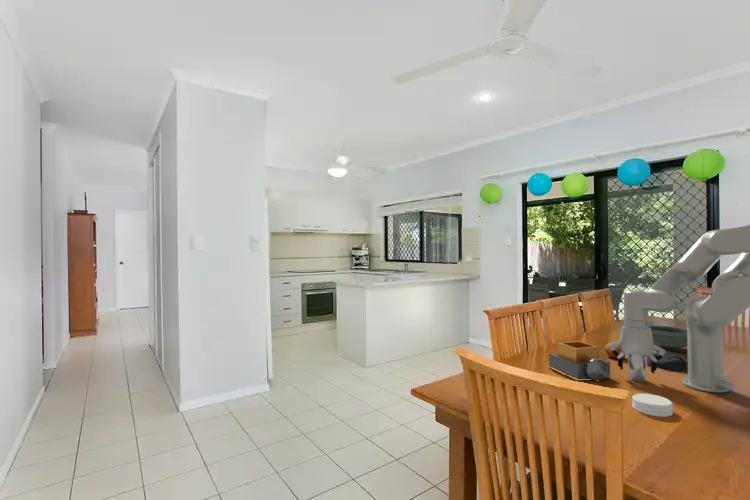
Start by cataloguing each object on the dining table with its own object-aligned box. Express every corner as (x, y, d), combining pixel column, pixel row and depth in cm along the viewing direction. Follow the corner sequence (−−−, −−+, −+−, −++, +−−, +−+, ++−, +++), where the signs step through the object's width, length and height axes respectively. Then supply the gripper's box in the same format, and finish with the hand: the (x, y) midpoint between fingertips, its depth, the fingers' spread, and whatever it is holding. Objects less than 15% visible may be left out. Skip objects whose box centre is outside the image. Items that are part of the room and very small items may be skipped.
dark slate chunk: (688, 360, 167) (688, 349, 167) (695, 374, 149) (695, 362, 149) (645, 355, 176) (645, 345, 176) (646, 368, 157) (646, 356, 157)
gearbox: (614, 379, 143) (614, 349, 143) (581, 383, 140) (581, 352, 140) (578, 365, 161) (578, 339, 161) (549, 368, 158) (548, 341, 158)
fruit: (634, 356, 168) (624, 340, 168) (618, 366, 168) (609, 350, 168) (623, 351, 176) (613, 336, 176) (608, 360, 176) (598, 345, 176)
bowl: (651, 353, 177) (651, 331, 177) (635, 342, 197) (635, 323, 197) (706, 356, 171) (705, 333, 171) (683, 345, 191) (683, 324, 191)
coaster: (634, 401, 123) (634, 390, 123) (673, 409, 117) (673, 397, 117) (630, 412, 116) (630, 400, 116) (672, 421, 109) (672, 408, 109)
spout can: (649, 381, 141) (648, 347, 141) (637, 382, 140) (636, 348, 140) (636, 376, 146) (636, 343, 146) (625, 378, 145) (624, 344, 145)
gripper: (663, 324, 142) (663, 370, 142) (608, 320, 150) (608, 364, 150) (667, 327, 136) (667, 376, 136) (609, 323, 144) (609, 370, 144)
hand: (636, 370), depth 143 cm, fingers open, 9 cm apart
